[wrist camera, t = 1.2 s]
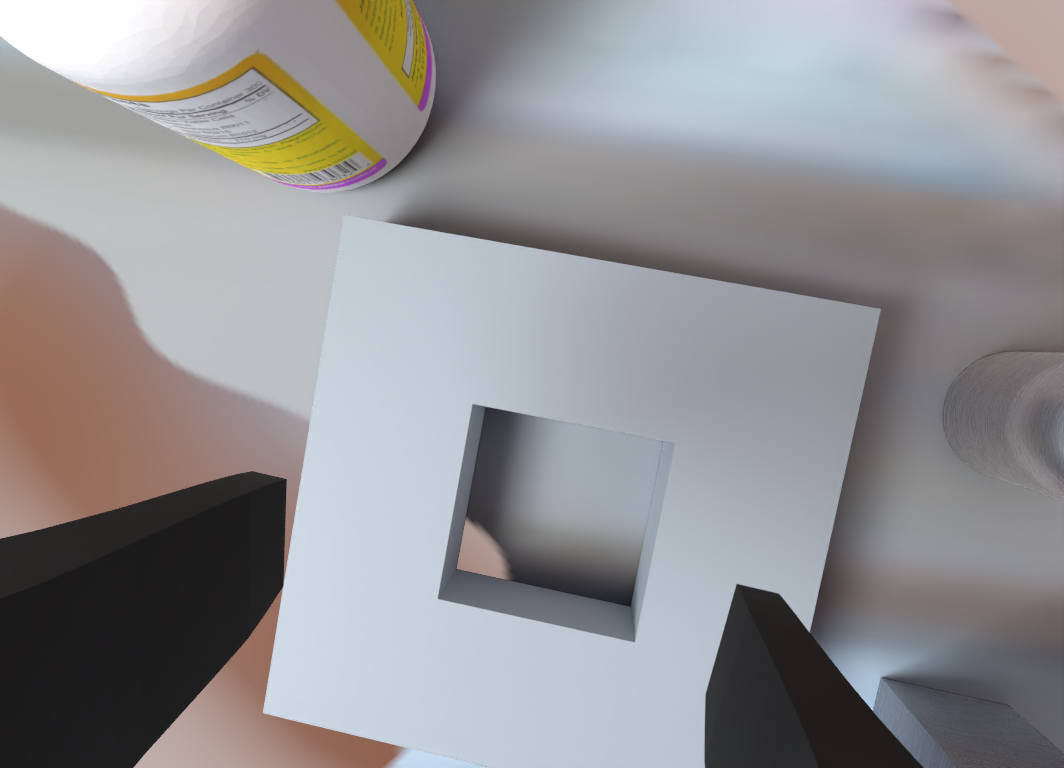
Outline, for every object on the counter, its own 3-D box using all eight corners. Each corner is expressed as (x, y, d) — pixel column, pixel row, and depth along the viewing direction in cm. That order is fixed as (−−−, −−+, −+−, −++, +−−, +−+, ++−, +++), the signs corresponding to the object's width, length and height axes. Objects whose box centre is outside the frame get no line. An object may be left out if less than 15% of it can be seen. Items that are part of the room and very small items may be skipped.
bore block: (745, 774, 21) (765, 833, 18) (300, 670, 22) (262, 713, 19) (845, 313, 20) (880, 308, 17) (374, 230, 21) (343, 215, 18)
